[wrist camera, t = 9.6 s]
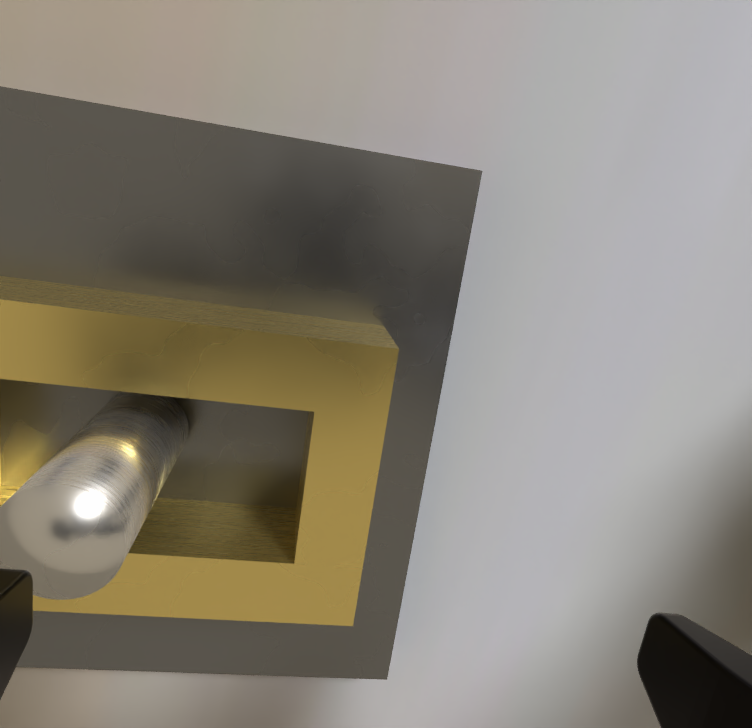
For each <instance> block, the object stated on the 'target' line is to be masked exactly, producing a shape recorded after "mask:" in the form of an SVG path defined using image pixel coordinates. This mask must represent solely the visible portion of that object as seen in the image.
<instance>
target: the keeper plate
mask: <svg viewBox="0 0 752 728" xmlns="http://www.w3.org/2000/svg"><path fill="white" fill-rule="evenodd" d="M481 175H482V171H480V170H474V169H468V168H462V167H457V166H451V165H445V164H440V163H434V162H428V161H423V160H417V159H411V158H405V157H400V156H394V155H388V154H383V153H377V152H371V151H366V150H360V149H354V148H348V147H343V146H337V145H331V144H326V143H320V142H314V141H309V140H303V139H297V138H291V137H286V136H280V135H274V134H269V133H263V132H257V131H252V130H246V129H240V128H234V127H229V126H223V125H217V124H212V123H206V122H200V121H195V120H189V119H183V118H177V117H172V116H166V115H160V114H155V113H149V112H143V111H137V110H132V109H126V108H120V107H115V106H109V105H103V104H98V103H92V102H86V101H80V100H75V99H69V98H63V97H58V96H52V95H46V94H41V93H35V92H29V91H23V90H18V89H12V88H6V87H1V86H0V276H6V277H13V278H21V279H29V280H37V281H44V282H52V283H60V284H67V285H75V286H83V287H90V288H98V289H106V290H114V291H121V292H129V293H137V294H144V295H152V296H160V297H167V298H175V299H183V300H191V301H198V302H206V303H214V304H221V305H229V306H237V307H244V308H252V309H260V310H268V311H275V312H283V313H291V314H298V315H306V316H314V317H321V318H329V319H337V320H345V321H352V322H360V323H368V324H375V325H383V326H384V327H385V329H386V330H387V332H388V333H389V334H390V336H391V337H392V339H393V340H394V342H395V343H396V345H397V346H398V348H399V352H398V358H397V364H396V370H395V376H394V382H393V388H392V394H391V400H390V406H389V412H388V418H387V424H386V430H385V436H384V442H383V448H382V454H381V460H380V466H379V472H378V478H377V485H376V491H375V497H374V503H373V509H372V515H371V521H370V527H369V533H368V539H367V545H366V551H365V557H364V563H363V569H362V575H361V581H360V587H359V593H358V599H357V605H356V611H355V617H354V623H353V626H339V625H318V624H298V623H277V622H257V621H236V620H215V619H195V618H174V617H154V616H133V615H113V614H92V613H71V612H51V611H33V625H32V630H31V634H30V637H29V640H28V642H27V645H26V647H25V649H24V651H23V653H22V655H21V657H20V659H19V662H18V664H17V666H16V667H37V668H66V669H95V670H124V671H154V672H183V673H212V674H242V675H271V676H300V677H330V678H359V679H387V676H388V671H389V666H390V660H391V655H392V650H393V644H394V639H395V634H396V628H397V623H398V618H399V612H400V607H401V602H402V596H403V591H404V586H405V580H406V575H407V570H408V564H409V559H410V554H411V548H412V543H413V538H414V532H415V527H416V522H417V516H418V511H419V506H420V500H421V495H422V490H423V484H424V479H425V474H426V468H427V463H428V458H429V452H430V447H431V441H432V436H433V431H434V425H435V420H436V415H437V409H438V404H439V399H440V393H441V388H442V383H443V377H444V372H445V367H446V361H447V356H448V351H449V345H450V340H451V335H452V329H453V324H454V319H455V313H456V308H457V303H458V297H459V292H460V287H461V281H462V276H463V271H464V265H465V260H466V255H467V249H468V244H469V239H470V233H471V228H472V223H473V217H474V212H475V207H476V201H477V196H478V191H479V185H480V180H481ZM0 404H1V485H6V486H19V487H20V488H19V489H18V490H17V491H16V492H15V493H14V494H13V495H12V496H11V497H10V498H9V499H8V500H7V501H6V502H5V503H4V504H3V505H2V506H1V507H0V568H5V569H19V570H27V571H29V572H30V573H31V575H32V578H33V595H35V596H38V597H42V598H46V599H54V600H68V599H76V598H80V597H84V596H87V595H90V594H92V593H94V592H96V591H98V590H100V589H101V588H103V587H104V586H105V585H107V584H108V583H109V582H110V581H111V580H112V579H113V578H114V577H115V576H116V574H117V573H118V571H119V570H120V568H121V566H122V564H123V562H124V560H125V558H126V556H127V554H128V552H129V550H130V548H131V546H132V545H133V543H134V541H135V539H136V537H137V535H138V533H139V531H140V529H141V527H142V525H143V523H144V522H145V520H146V518H147V516H148V514H149V512H150V510H151V508H152V506H153V504H154V502H155V500H156V498H157V497H158V498H171V499H183V500H196V501H209V502H222V503H234V504H247V505H260V506H272V507H285V508H296V505H297V498H298V490H299V482H300V475H301V467H302V459H303V452H304V444H305V437H306V429H307V421H308V414H309V411H303V410H293V409H284V408H274V407H265V406H255V405H246V404H236V403H227V402H217V401H208V400H198V399H188V398H179V397H169V396H160V395H150V394H141V393H131V392H122V391H112V390H103V389H93V388H83V387H74V386H64V385H55V384H45V383H36V382H26V381H17V380H7V379H0Z"/></svg>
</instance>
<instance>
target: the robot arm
mask: <svg viewBox="0 0 752 728" xmlns="http://www.w3.org/2000/svg"><path fill="white" fill-rule="evenodd" d="M32 625H33V578H32V575H31V573H30V572H29V571H27V570H19V569H5V568H0V699H1V697H2V695H3V693H4V691H5V689H6V687H7V685H8V683H9V680H10V678H11V676H12V674H13V672H14V670H15V668H16V666H17V664H18V662H19V659H20V657H21V655H22V653H23V651H24V649H25V647H26V645H27V642H28V640H29V637H30V634H31V630H32ZM637 666H638V671H639V675H640V678H641V680H642V682H643V685H644V687H645V690H646V692H647V695H648V697H649V699H650V702H651V704H652V707H653V709H654V712H655V714H656V716H657V719H658V721H659V724H660V726H661V728H752V655H750V654H748V653H746V652H745V651H743V650H741V649H739V648H738V647H736V646H734V645H733V644H731V643H729V642H727V641H726V640H724V639H722V638H720V637H719V636H717V635H715V634H713V633H712V632H710V631H708V630H707V629H705V628H703V627H701V626H700V625H698V624H696V623H694V622H693V621H691V620H689V619H688V618H686V617H684V616H682V615H678V614H667V613H656V614H653V615H652V616H651V618H650V619H649V621H648V624H647V627H646V631H645V634H644V637H643V640H642V644H641V647H640V650H639V653H638V658H637Z"/></svg>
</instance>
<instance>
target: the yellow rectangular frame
mask: <svg viewBox="0 0 752 728" xmlns="http://www.w3.org/2000/svg"><path fill="white" fill-rule="evenodd" d="M398 352H399V348H398V346H397V345H396V343H395V342H394V340H393V339H392V337H391V336H390V334H389V333H388V332H387V330H386V329H385V327H384V326H383V325H375V324H368V323H360V322H352V321H345V320H337V319H329V318H321V317H314V316H306V315H298V314H291V313H283V312H275V311H268V310H260V309H252V308H244V307H237V306H229V305H221V304H214V303H206V302H198V301H191V300H183V299H175V298H167V297H160V296H152V295H144V294H137V293H129V292H121V291H114V290H106V289H98V288H90V287H83V286H75V285H67V284H60V283H52V282H44V281H37V280H29V279H21V278H13V277H6V276H0V379H7V380H17V381H26V382H36V383H45V384H55V385H64V386H74V387H83V388H93V389H103V390H112V391H122V392H131V393H141V394H150V395H160V396H169V397H179V398H188V399H198V400H208V401H217V402H227V403H236V404H246V405H255V406H265V407H274V408H284V409H293V410H303V411H309V414H308V421H307V429H306V437H305V444H304V452H303V459H302V467H301V475H300V482H299V490H298V498H297V505H296V508H285V507H272V506H260V505H247V504H234V503H222V502H209V501H196V500H183V499H171V498H158V497H157V498H156V500H155V502H154V504H153V506H152V508H151V510H150V512H149V514H148V516H147V518H146V520H145V522H144V523H143V525H142V527H141V529H140V531H139V533H138V535H137V537H136V539H135V541H134V543H133V545H132V546H131V548H130V550H129V552H128V554H127V556H126V558H125V560H124V562H123V564H122V566H121V568H120V570H119V571H118V573H117V574H116V576H115V577H114V578H113V579H112V580H111V581H110V582H109V583H108V584H107V585H105V586H104V587H103V588H101V589H100V590H98V591H96V592H94V593H92V594H90V595H87V596H84V597H80V598H76V599H68V600H54V599H46V598H42V597H38V596H35V595H33V611H51V612H71V613H92V614H113V615H133V616H154V617H174V618H195V619H215V620H236V621H257V622H277V623H298V624H318V625H339V626H353V623H354V617H355V611H356V605H357V599H358V593H359V587H360V581H361V575H362V569H363V563H364V557H365V551H366V545H367V539H368V533H369V527H370V521H371V515H372V509H373V503H374V497H375V491H376V485H377V478H378V472H379V466H380V460H381V454H382V448H383V442H384V436H385V430H386V424H387V418H388V412H389V406H390V400H391V394H392V388H393V382H394V376H395V370H396V364H397V358H398ZM19 488H20V487H19V486H6V485H1V404H0V507H1V506H2V505H3V504H4V503H5V502H6V501H7V500H8V499H9V498H10V497H11V496H12V495H13V494H14V493H15V492H16V491H17V490H18V489H19Z"/></svg>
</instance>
